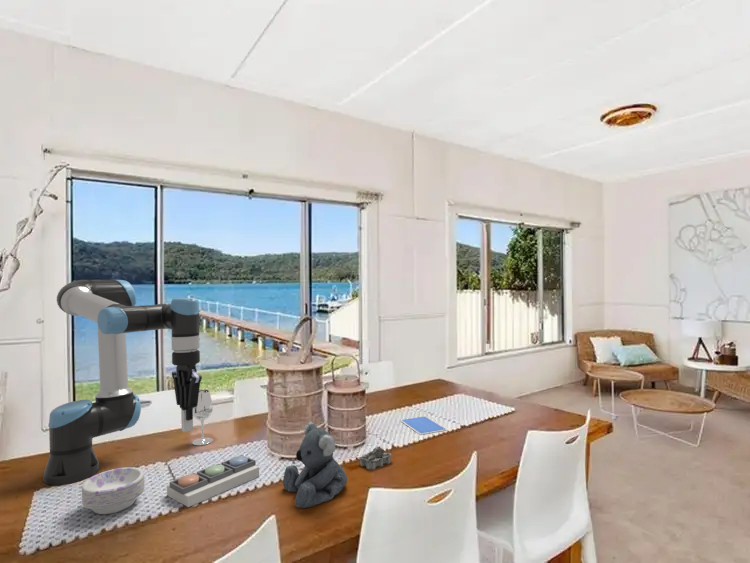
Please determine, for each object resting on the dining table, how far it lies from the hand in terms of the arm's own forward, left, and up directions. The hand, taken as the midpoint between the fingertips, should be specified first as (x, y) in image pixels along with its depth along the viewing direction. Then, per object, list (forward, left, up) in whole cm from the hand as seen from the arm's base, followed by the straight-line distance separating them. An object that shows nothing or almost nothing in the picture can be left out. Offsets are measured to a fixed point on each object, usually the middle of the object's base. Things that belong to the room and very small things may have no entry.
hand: (187, 430), depth 128 cm
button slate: (+17, 0, -16) cm, 23 cm away
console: (+9, 0, -19) cm, 21 cm away
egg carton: (+50, -31, -20) cm, 62 cm away
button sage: (+9, 0, -16) cm, 18 cm away
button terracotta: (0, 0, -16) cm, 16 cm away
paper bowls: (-15, +12, -20) cm, 28 cm away
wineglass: (+27, +38, -20) cm, 50 cm away
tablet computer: (+92, -23, -20) cm, 97 cm away
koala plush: (+25, -29, -20) cm, 43 cm away
